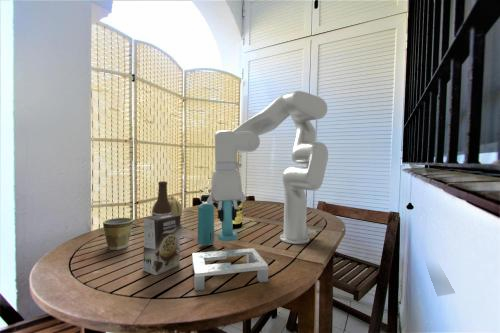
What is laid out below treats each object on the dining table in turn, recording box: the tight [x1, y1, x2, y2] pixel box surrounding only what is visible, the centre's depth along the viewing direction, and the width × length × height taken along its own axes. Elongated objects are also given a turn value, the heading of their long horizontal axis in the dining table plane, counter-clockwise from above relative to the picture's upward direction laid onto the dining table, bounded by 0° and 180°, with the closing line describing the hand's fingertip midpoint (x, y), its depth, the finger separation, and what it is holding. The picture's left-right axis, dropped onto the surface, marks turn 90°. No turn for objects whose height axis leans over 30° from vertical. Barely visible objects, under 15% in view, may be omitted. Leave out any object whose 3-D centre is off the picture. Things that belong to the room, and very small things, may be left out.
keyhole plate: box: [191, 247, 269, 291], centre depth 73 cm, size 20×14×4 cm
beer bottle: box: [152, 180, 172, 216], centre depth 105 cm, size 8×8×24 cm
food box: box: [142, 213, 182, 276], centre depth 76 cm, size 9×6×16 cm
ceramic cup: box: [102, 217, 134, 251], centre depth 94 cm, size 13×10×10 cm
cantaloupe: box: [150, 195, 183, 218], centre depth 124 cm, size 15×15×15 cm
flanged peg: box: [217, 200, 238, 242], centre depth 85 cm, size 7×7×16 cm
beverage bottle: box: [197, 194, 216, 246], centre depth 95 cm, size 6×7×20 cm
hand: (227, 219), depth 85 cm, fingers closed on flanged peg, 3 cm apart
